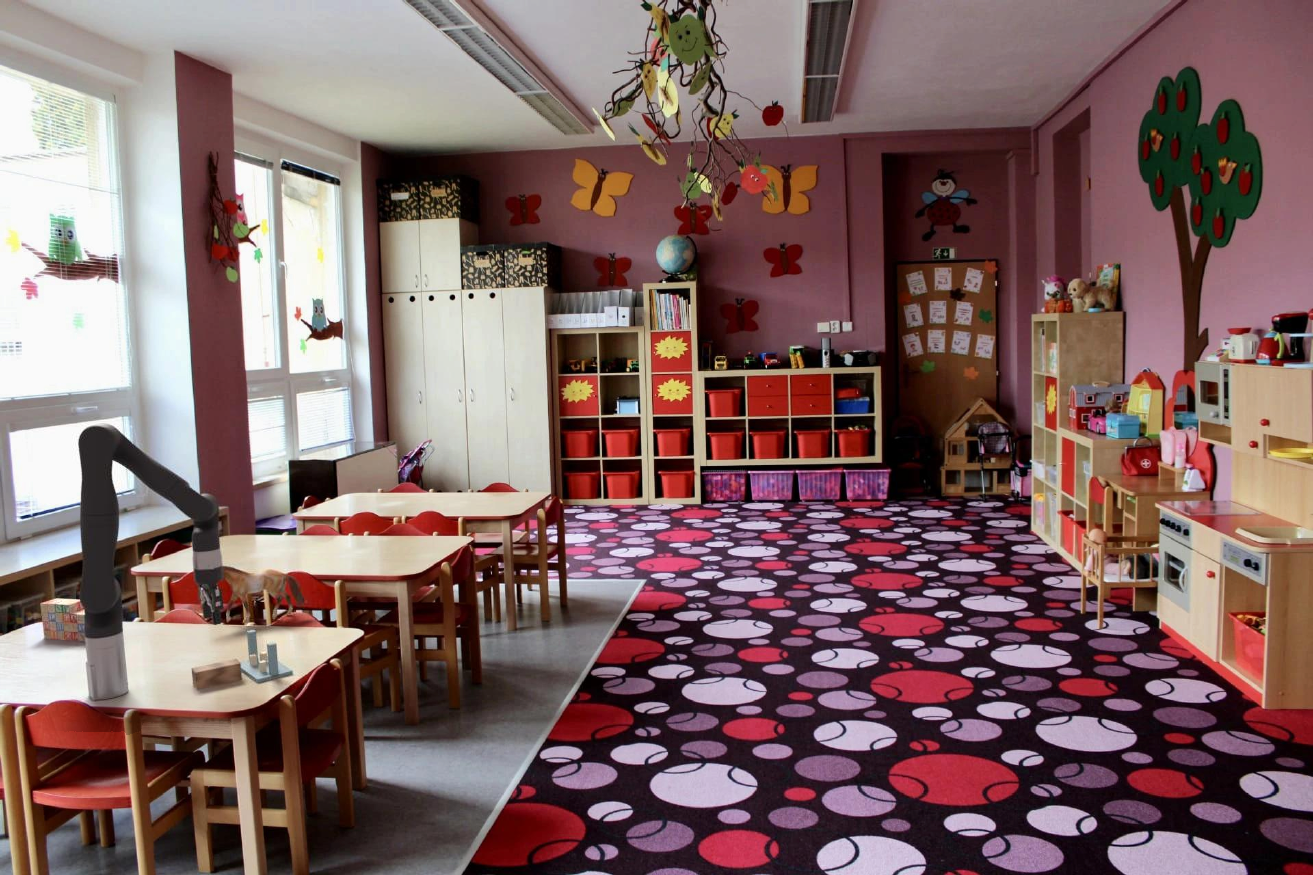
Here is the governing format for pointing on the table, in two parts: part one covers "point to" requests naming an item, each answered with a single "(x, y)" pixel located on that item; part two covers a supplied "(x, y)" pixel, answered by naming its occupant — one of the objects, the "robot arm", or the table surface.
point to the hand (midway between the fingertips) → (212, 621)
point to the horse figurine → (261, 587)
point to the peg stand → (263, 661)
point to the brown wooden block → (216, 673)
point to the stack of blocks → (63, 619)
